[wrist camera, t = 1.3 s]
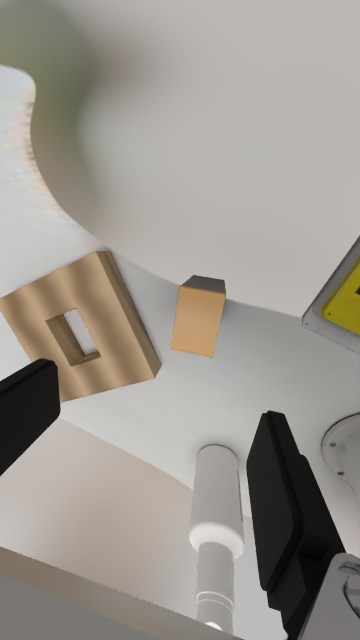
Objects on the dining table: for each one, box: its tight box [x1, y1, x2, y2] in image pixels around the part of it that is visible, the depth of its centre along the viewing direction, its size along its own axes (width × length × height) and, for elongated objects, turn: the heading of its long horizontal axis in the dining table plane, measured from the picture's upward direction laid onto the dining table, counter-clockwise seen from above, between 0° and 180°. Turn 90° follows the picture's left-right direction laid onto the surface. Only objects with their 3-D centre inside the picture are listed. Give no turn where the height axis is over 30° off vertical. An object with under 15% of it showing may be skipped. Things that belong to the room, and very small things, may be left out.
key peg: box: [171, 275, 226, 358], centre depth 24 cm, size 4×6×10 cm, turn 172°
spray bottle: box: [189, 445, 244, 635], centre depth 28 cm, size 7×7×18 cm
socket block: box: [0, 252, 161, 403], centre depth 31 cm, size 18×18×4 cm
